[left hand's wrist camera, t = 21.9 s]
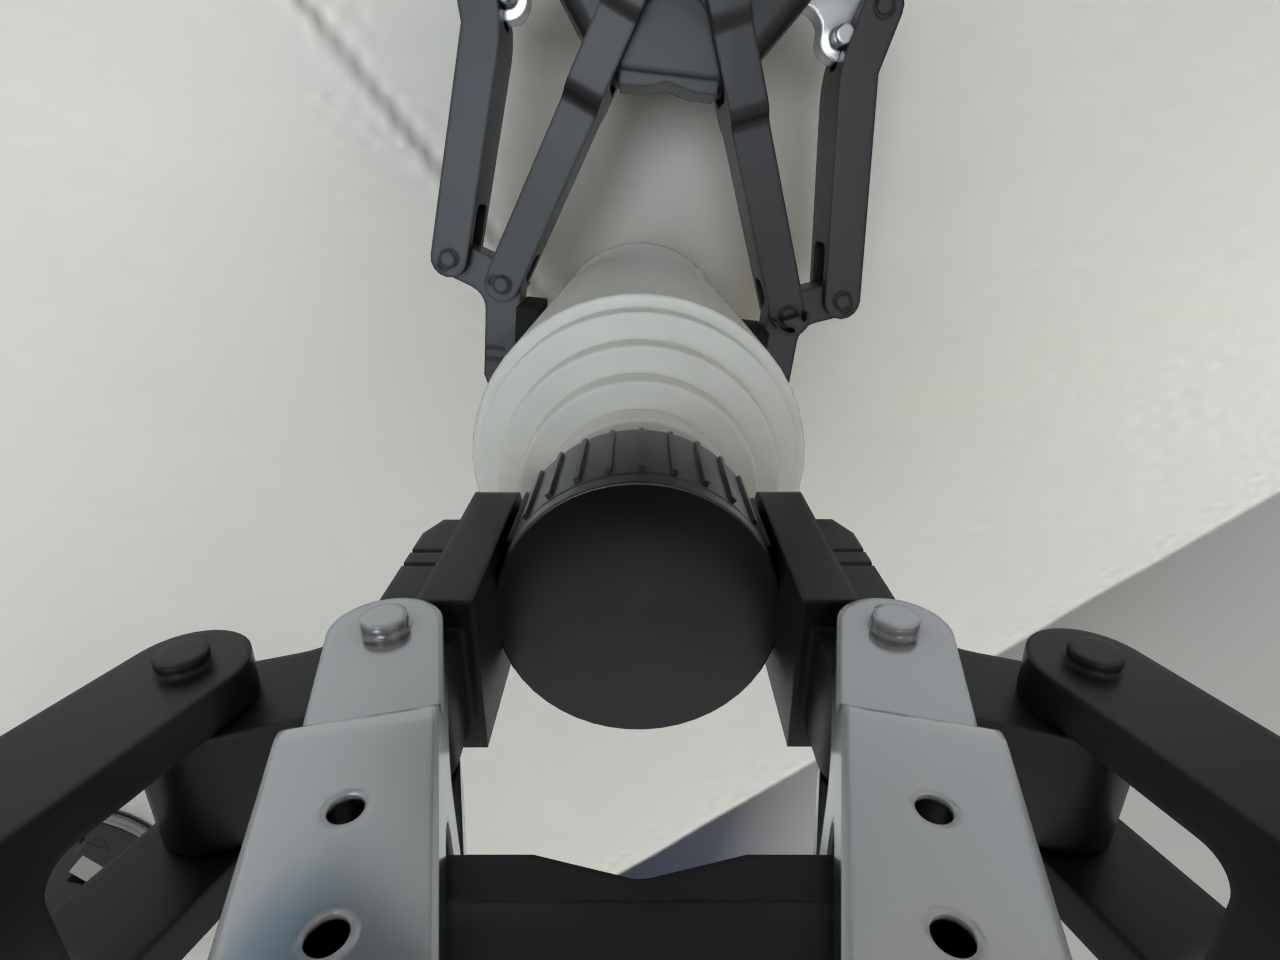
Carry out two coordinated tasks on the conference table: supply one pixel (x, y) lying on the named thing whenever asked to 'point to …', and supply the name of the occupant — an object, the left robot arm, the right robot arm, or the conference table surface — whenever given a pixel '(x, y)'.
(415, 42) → the conference table surface
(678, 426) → the bottle
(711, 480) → the cap
